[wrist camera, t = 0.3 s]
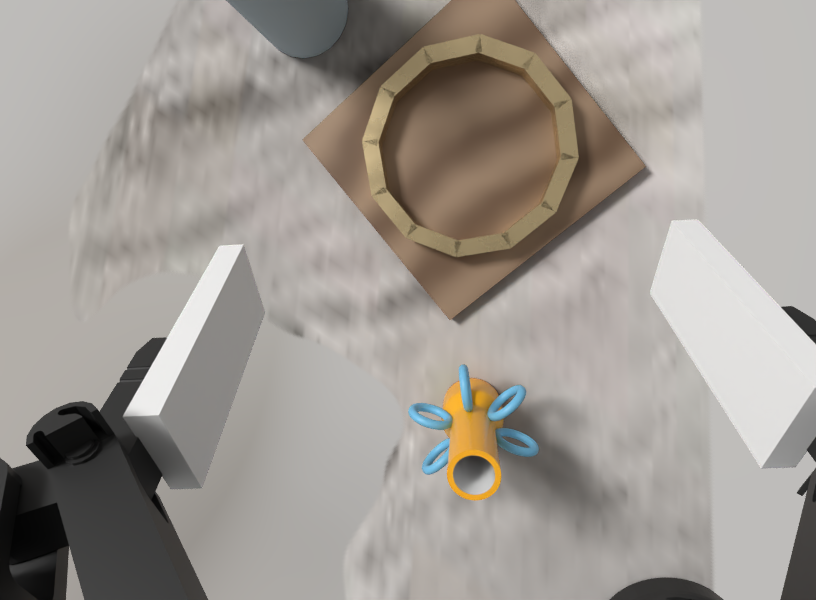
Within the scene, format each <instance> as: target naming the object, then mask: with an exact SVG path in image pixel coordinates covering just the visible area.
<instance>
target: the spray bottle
mask: <svg viewBox="0 0 816 600" xmlns="http://www.w3.org/2000/svg"><path fill="white" fill-rule="evenodd" d="M226 1H227V2H228V3H230V4H231V5H232V6H233V7H234V8H235V9H236V10H237V11H238V12H239V13H240V14H241V15H242V16H243V17H244V18H245V19H246V20H247V21H248V22H250V23H251V24H252V25H253V26H254V27H255V28H256V29H257V30H258V31H259V32H260V33H261V34H262V35H263V36H264V37H265V38H266V39H267V40H268V41H270V42H271V43H272V44H273V45H274V46H275V47H276V48H277V49H278V50H280V51H282V52H283V53H285V54H287V55H289V56H292V57H299V58H308V57H313V56H318V55H319V54H321V53H323V52H325V51H326V50H328V49H330V48H331V47H332V45H333V44H334V43H335V42H336V41H337V40H338V39H339V38H340V36H341V34H342V31H343V29H344V27H345V25H346V21H347V14H348V2H347V0H226Z"/></svg>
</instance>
